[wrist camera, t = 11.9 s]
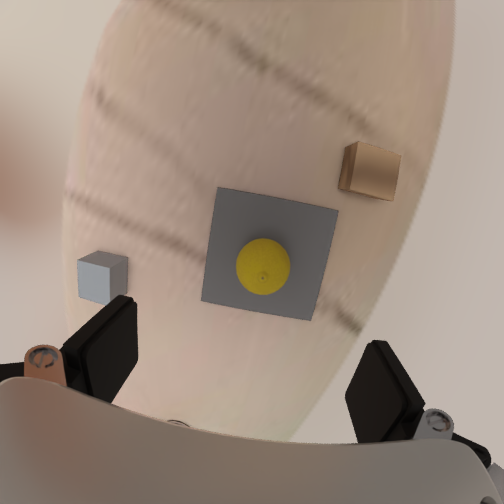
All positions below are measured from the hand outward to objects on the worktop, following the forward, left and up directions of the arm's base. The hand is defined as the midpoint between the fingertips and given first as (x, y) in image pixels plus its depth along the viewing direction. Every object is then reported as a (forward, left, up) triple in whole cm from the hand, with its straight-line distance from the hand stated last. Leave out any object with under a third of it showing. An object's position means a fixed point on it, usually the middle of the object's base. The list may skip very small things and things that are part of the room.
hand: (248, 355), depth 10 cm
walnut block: (-10, +10, -23) cm, 27 cm away
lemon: (+2, +1, -23) cm, 23 cm away
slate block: (+8, -19, -23) cm, 31 cm away
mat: (+2, +1, -23) cm, 23 cm away
